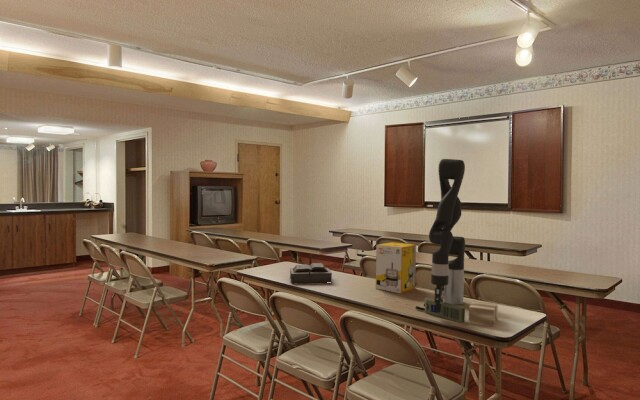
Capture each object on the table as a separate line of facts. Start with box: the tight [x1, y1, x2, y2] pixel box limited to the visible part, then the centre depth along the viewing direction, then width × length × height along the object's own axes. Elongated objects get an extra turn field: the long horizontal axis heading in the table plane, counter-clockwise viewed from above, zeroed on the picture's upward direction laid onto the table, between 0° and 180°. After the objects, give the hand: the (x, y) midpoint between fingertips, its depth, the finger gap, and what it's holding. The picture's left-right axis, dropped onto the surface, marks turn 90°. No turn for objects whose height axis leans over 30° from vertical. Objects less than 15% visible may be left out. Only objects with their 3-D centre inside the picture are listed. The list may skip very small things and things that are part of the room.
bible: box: [289, 262, 333, 284], centre depth 273 cm, size 23×27×10 cm
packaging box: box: [375, 241, 417, 294], centre depth 254 cm, size 16×16×25 cm
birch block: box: [468, 300, 499, 327], centre depth 194 cm, size 12×10×7 cm
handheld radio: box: [415, 297, 466, 324], centre depth 202 cm, size 7×3×25 cm
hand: (439, 309), depth 201 cm, fingers open, 8 cm apart
